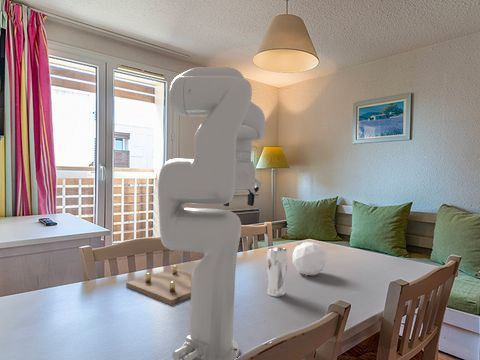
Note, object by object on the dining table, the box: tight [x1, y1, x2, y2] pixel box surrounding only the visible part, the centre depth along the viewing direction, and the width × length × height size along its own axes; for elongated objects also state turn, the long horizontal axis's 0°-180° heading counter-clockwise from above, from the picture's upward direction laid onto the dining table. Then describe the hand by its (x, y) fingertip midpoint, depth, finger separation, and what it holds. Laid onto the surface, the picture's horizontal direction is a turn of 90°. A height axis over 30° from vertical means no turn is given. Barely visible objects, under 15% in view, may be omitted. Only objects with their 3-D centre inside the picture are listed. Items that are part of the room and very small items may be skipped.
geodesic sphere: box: [291, 240, 327, 276], centre depth 127 cm, size 14×14×14 cm
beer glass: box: [266, 246, 289, 298], centre depth 105 cm, size 7×7×15 cm
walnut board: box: [125, 264, 192, 306], centre depth 108 cm, size 22×22×4 cm
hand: (238, 205), depth 110 cm, fingers open, 9 cm apart
